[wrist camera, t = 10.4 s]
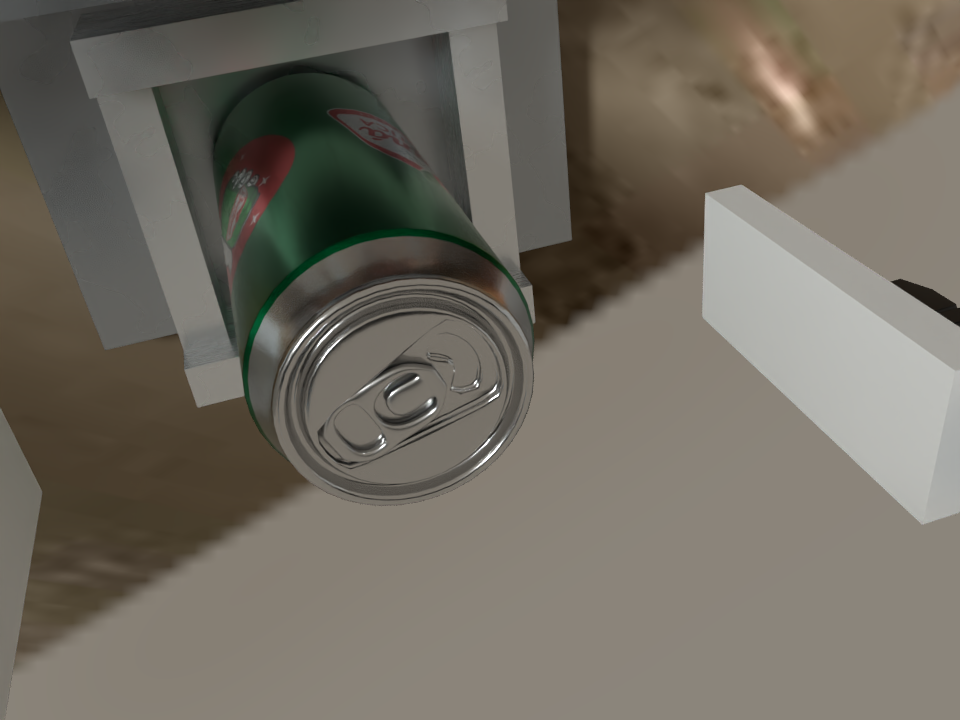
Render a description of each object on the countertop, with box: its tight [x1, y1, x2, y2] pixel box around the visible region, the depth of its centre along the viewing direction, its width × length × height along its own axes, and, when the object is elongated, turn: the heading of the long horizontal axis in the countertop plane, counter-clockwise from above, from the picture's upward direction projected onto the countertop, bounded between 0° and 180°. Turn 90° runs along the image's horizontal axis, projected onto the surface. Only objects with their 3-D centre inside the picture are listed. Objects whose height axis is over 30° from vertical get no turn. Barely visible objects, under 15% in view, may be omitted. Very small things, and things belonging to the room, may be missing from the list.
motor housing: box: [0, 0, 572, 407], centre depth 20 cm, size 18×17×10 cm
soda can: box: [213, 73, 534, 506], centre depth 20 cm, size 5×5×12 cm
